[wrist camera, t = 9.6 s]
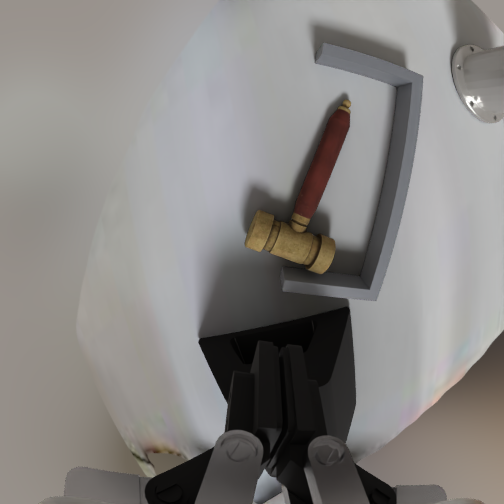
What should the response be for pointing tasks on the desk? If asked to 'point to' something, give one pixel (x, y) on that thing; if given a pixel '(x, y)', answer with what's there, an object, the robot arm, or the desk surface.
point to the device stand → (315, 355)
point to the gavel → (305, 207)
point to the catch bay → (393, 183)
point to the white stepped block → (276, 499)
